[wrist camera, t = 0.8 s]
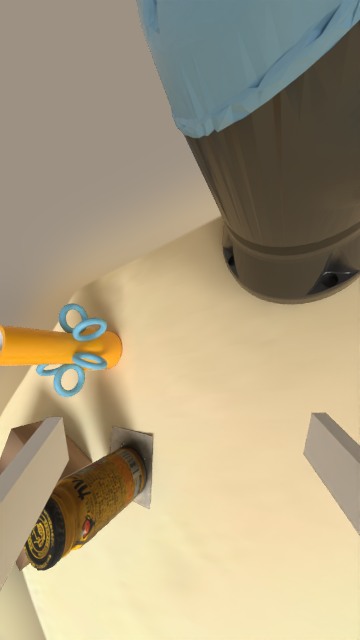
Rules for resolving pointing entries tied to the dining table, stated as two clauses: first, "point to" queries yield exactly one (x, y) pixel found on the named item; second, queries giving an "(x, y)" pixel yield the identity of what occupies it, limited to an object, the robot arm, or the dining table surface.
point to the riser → (15, 444)
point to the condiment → (92, 498)
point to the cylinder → (62, 348)
